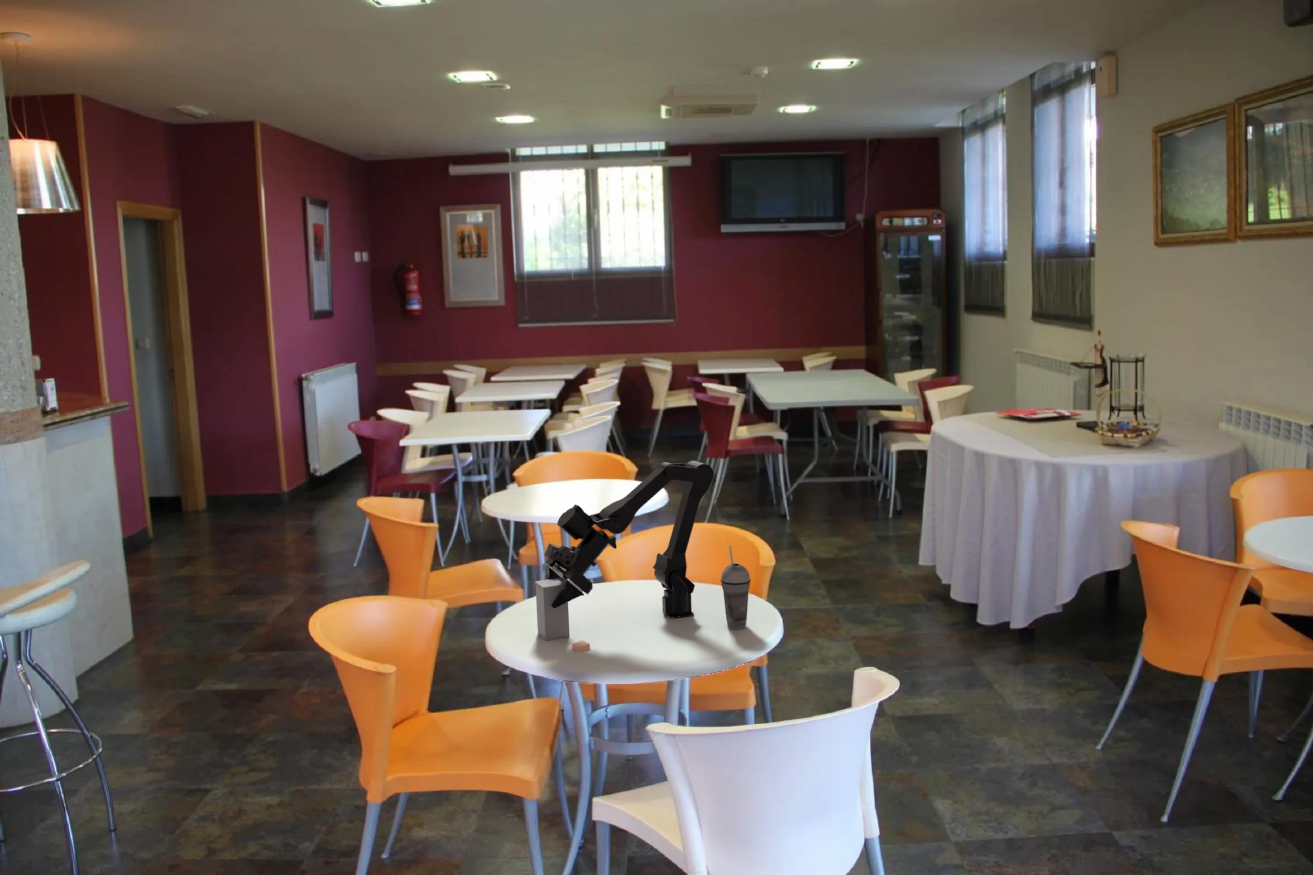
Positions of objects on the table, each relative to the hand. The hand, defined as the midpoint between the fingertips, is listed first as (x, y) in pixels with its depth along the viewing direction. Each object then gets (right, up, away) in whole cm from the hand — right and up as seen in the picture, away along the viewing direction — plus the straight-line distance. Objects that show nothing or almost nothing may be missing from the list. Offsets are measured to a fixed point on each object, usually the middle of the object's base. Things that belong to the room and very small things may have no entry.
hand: (546, 602), depth 259 cm
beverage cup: (+46, -7, +4) cm, 46 cm away
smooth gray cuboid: (+2, -8, +2) cm, 8 cm away
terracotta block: (+9, -10, -8) cm, 16 cm away
